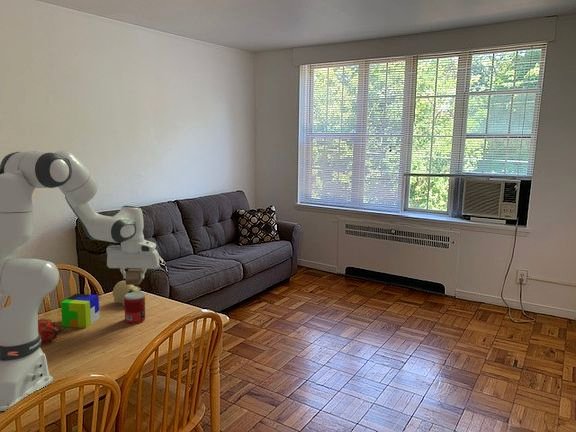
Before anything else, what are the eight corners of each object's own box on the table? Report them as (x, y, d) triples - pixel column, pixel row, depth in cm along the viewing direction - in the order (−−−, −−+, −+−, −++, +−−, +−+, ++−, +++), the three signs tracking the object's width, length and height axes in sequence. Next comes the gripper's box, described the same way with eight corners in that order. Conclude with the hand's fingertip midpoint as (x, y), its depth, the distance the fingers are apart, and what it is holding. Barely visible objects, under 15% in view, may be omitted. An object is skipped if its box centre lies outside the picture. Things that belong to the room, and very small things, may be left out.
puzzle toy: (99, 317, 183) (98, 295, 181) (86, 328, 173) (85, 304, 171) (76, 316, 183) (75, 293, 182) (62, 326, 174) (60, 302, 172)
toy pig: (130, 309, 192) (130, 286, 190) (108, 305, 196) (107, 282, 194) (145, 302, 201) (144, 279, 199) (123, 298, 205) (122, 276, 203)
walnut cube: (138, 284, 176) (138, 273, 175) (125, 284, 176) (125, 272, 175) (142, 280, 181) (141, 269, 180) (129, 280, 181) (129, 269, 180)
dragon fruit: (35, 339, 166) (58, 350, 161) (18, 334, 158) (41, 345, 154) (48, 317, 169) (70, 328, 164) (32, 312, 161) (55, 322, 157)
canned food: (146, 322, 179) (145, 297, 177) (125, 325, 176) (124, 299, 174) (144, 315, 186) (144, 290, 184) (124, 317, 183) (123, 292, 181)
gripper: (103, 246, 172) (105, 280, 174) (156, 247, 173) (157, 281, 175) (109, 242, 178) (110, 275, 181) (160, 243, 179) (160, 276, 181)
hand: (133, 278), depth 178 cm, fingers closed on walnut cube, 5 cm apart
